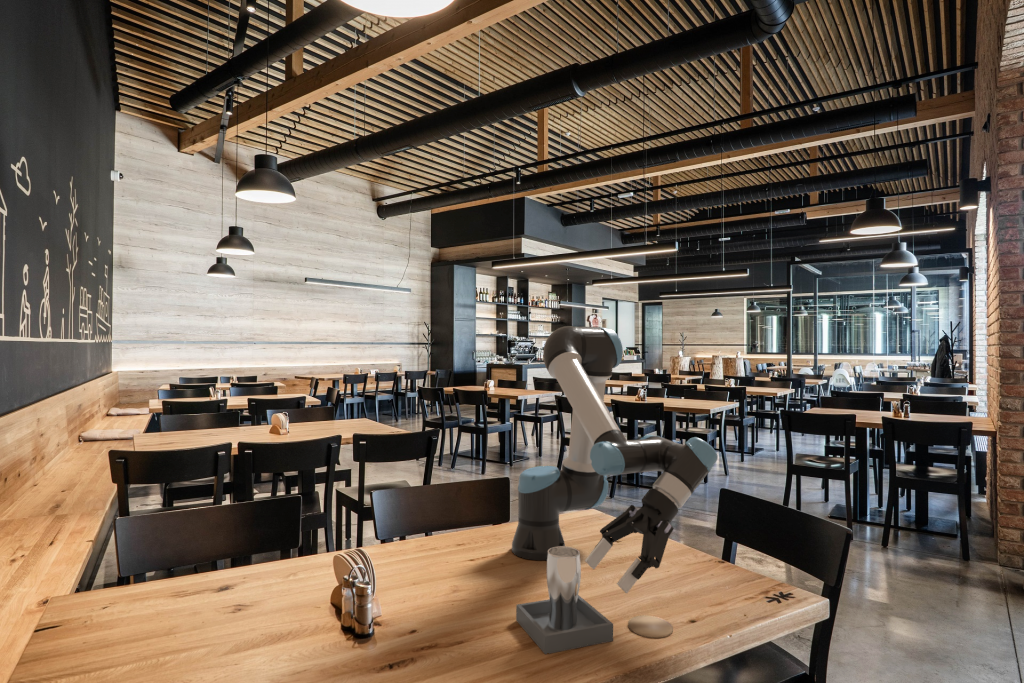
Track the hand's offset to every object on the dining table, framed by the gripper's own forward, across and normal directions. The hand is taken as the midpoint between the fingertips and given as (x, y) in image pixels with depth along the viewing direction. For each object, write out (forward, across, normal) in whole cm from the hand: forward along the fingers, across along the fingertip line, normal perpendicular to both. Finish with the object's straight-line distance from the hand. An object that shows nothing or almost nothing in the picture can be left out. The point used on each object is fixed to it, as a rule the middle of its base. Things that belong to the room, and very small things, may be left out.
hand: (604, 576), depth 120 cm
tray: (+14, 0, 0) cm, 14 cm away
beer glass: (+13, 0, 0) cm, 13 cm away
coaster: (+1, -5, -12) cm, 13 cm away
